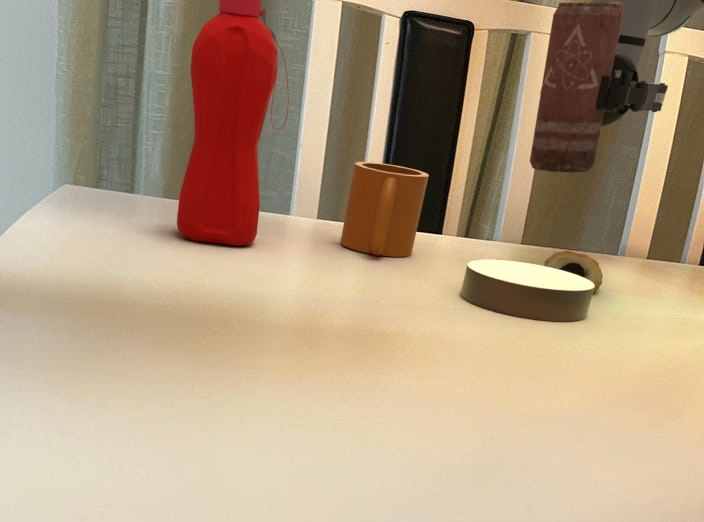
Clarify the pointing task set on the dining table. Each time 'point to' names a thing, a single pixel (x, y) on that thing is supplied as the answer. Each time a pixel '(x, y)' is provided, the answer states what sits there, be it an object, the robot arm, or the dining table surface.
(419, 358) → the dining table surface
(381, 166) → the mug
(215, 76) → the water bottle
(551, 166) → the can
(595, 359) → the dining table surface
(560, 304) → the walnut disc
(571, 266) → the pastry
